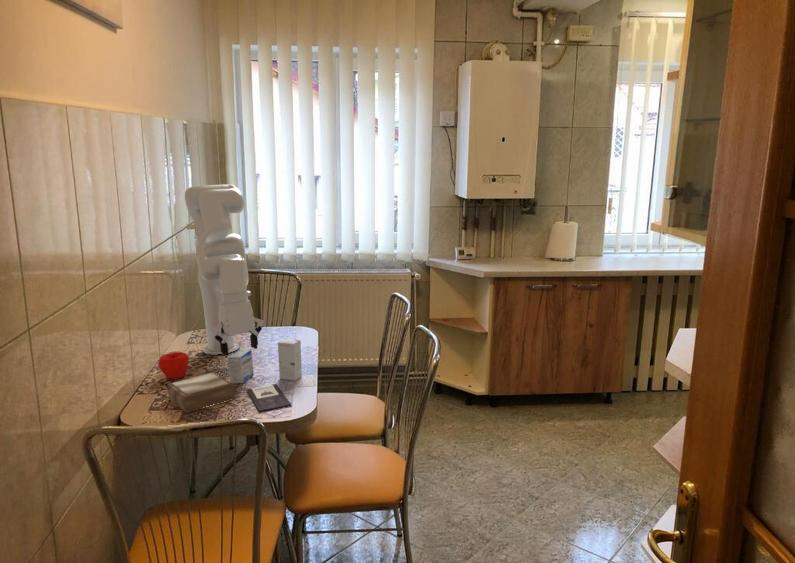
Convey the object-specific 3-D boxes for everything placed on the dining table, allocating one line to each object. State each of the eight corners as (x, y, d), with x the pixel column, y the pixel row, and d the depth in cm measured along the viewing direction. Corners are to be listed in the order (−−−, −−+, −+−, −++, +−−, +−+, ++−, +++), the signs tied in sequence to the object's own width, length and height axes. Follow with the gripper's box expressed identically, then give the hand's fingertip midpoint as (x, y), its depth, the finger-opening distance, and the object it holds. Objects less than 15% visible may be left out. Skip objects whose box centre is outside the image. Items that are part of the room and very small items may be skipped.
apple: (158, 383, 187) (155, 360, 186) (164, 374, 196) (161, 351, 194) (187, 381, 189) (185, 357, 187) (192, 371, 197) (190, 349, 196)
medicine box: (243, 384, 185) (240, 357, 183) (229, 383, 186) (227, 357, 184) (254, 375, 192) (251, 349, 190) (241, 374, 193) (239, 349, 191)
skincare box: (279, 379, 188) (276, 342, 185) (286, 374, 192) (283, 338, 189) (296, 381, 186) (293, 343, 183) (303, 376, 190) (300, 339, 187)
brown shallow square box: (169, 399, 175) (167, 383, 174) (215, 386, 183) (213, 371, 182) (186, 413, 164) (185, 396, 163) (234, 399, 173) (233, 383, 172)
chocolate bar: (258, 410, 163) (246, 389, 179) (259, 414, 163) (247, 392, 179) (291, 404, 166) (276, 383, 182) (291, 407, 167) (276, 386, 183)
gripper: (255, 291, 192) (259, 343, 195) (202, 300, 181) (208, 355, 184) (266, 294, 186) (270, 347, 189) (212, 304, 175) (218, 360, 178)
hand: (240, 351), depth 186 cm, fingers open, 9 cm apart
